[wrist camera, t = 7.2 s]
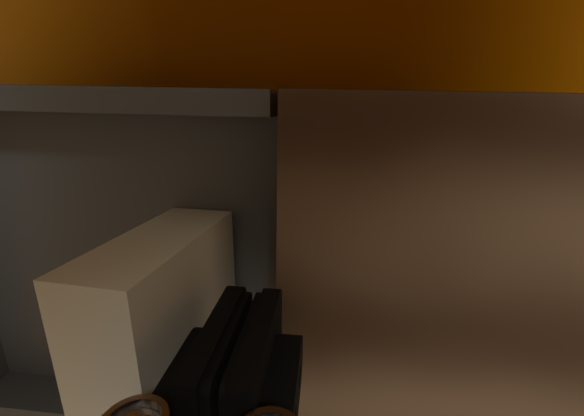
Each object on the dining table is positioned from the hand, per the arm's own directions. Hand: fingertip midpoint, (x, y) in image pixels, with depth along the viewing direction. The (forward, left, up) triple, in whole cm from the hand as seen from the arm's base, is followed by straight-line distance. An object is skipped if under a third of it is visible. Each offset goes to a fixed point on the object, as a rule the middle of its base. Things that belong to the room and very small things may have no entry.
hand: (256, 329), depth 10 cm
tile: (0, -2, 0) cm, 2 cm away
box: (0, -7, -4) cm, 8 cm away
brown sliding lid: (0, +6, -4) cm, 8 cm away
